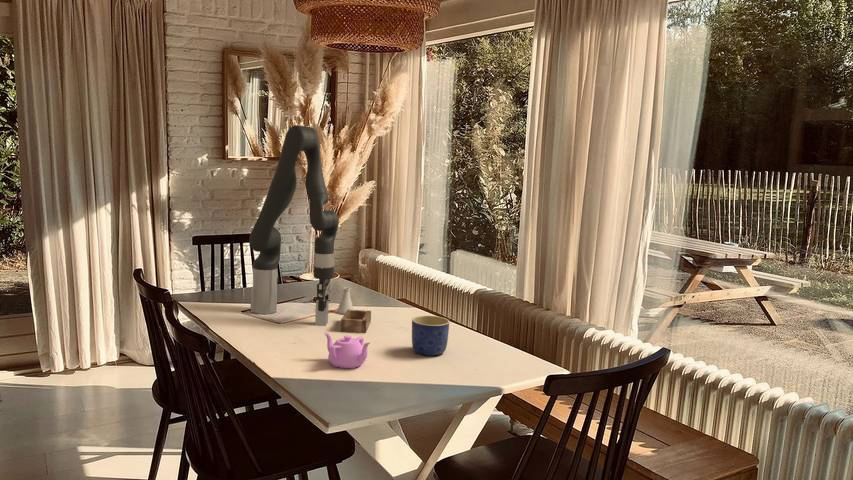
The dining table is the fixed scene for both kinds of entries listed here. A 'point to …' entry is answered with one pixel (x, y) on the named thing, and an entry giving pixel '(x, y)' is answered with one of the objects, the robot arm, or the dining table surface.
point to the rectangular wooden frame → (356, 321)
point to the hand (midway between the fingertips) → (323, 308)
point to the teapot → (346, 351)
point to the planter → (430, 334)
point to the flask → (345, 301)
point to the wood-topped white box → (322, 314)
